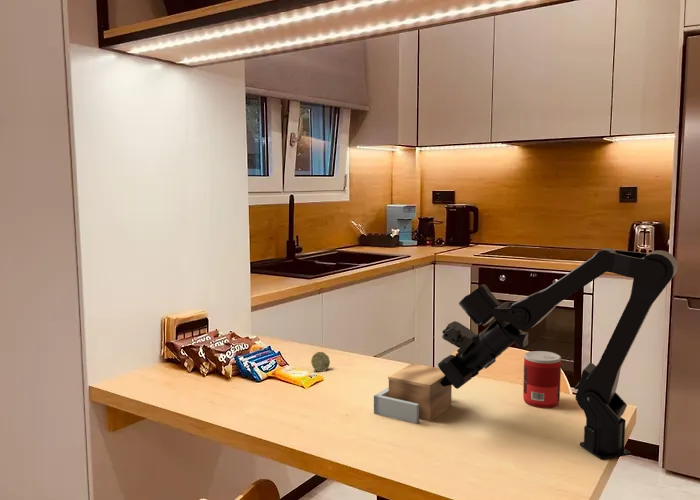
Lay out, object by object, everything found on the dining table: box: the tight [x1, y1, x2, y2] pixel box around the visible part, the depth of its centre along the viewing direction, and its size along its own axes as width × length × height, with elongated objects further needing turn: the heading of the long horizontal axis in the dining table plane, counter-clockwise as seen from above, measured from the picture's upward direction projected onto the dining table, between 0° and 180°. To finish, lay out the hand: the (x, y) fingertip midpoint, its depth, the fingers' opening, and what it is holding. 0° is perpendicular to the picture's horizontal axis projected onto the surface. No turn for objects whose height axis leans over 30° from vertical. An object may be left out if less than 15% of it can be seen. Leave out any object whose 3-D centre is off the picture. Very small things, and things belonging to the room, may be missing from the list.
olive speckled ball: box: [310, 351, 331, 372], centre depth 163 cm, size 4×5×5 cm
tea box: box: [387, 363, 453, 423], centre depth 135 cm, size 10×11×8 cm
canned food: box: [522, 350, 562, 409], centre depth 138 cm, size 8×8×11 cm
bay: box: [373, 386, 420, 424], centre depth 136 cm, size 10×16×4 cm, turn 146°
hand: (442, 384), depth 132 cm, fingers closed
